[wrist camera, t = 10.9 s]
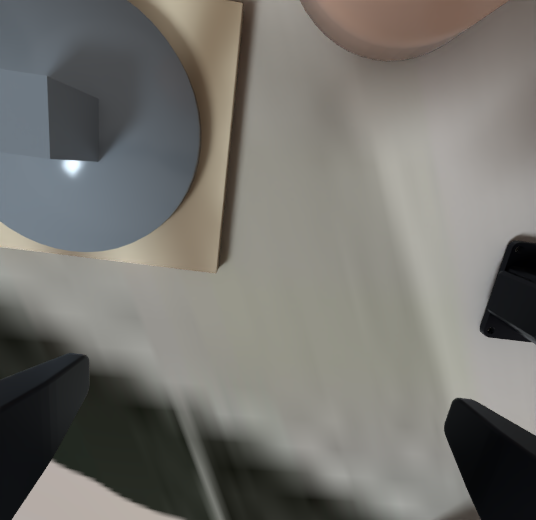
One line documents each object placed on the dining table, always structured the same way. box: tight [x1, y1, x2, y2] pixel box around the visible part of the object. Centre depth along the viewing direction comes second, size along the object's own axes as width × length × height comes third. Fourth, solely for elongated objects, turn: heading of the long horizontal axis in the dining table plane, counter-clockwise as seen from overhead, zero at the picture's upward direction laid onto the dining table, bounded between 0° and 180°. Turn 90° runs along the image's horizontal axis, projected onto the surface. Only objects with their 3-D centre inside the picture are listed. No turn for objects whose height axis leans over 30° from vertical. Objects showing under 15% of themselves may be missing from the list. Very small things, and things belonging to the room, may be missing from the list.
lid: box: [0, 0, 202, 252], centre depth 15 cm, size 13×13×5 cm
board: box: [0, 0, 244, 273], centre depth 18 cm, size 16×14×1 cm
